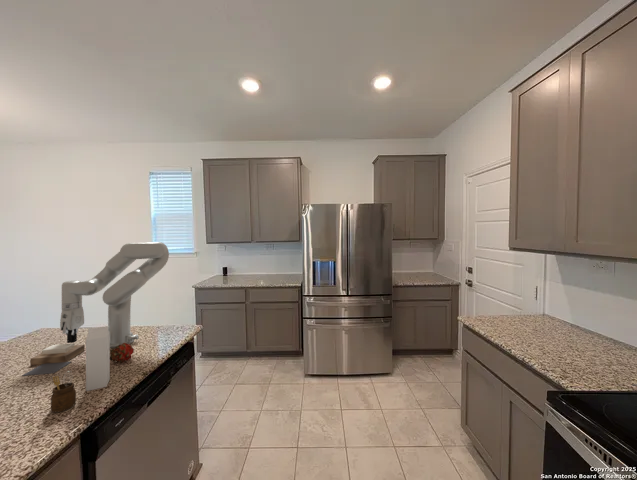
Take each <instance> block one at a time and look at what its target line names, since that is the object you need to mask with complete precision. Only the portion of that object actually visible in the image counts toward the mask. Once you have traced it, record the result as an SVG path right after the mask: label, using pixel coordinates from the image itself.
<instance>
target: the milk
mask: <svg viewBox="0 0 637 480" xmlns="http://www.w3.org/2000/svg"><path fill="white" fill-rule="evenodd" d="M110 349H111V348H110V332H109V331H108V325H105V326H99V327H97V326H96V327H91V328H90V327H89V328H88V329H87V335H86V338H85V391H86V392H88V391H89V392H90V391H93V390H98V389H102V388H107V386H108V385H109V382H110V378H111V377H110V376H111V374H110V373H111V372H110V370H111V369H110V368H111V367H110V364H111V363H110V362H111V360H110V356H111V354H110V353H111V352H110V351H111V350H110Z"/></svg>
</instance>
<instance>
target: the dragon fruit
mask: <svg viewBox="0 0 637 480" xmlns="http://www.w3.org/2000/svg"><path fill="white" fill-rule="evenodd" d="M133 354H134V347H133V346H132V345H130V344H127V343H123V344H122V345H118V346H117V347H115V348H111V350H110V361H112V362H115V363H117V364H123V363H124V362H125V361H129V360H131V359H132V355H133Z"/></svg>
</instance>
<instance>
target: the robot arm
mask: <svg viewBox="0 0 637 480" xmlns="http://www.w3.org/2000/svg"><path fill="white" fill-rule="evenodd" d="M169 255H170V252H169V249H168V247H167V245H166V244H165V243H164V242H160V241H153V242H152V241H151V242H128V243H126V244H123V245H122V246H121V247H120V251H118V252H117V253H116V254H115V255H114V256H112V257H111V258H110V259H109V260H107V262H105V266H104V268H103V269H101V271H99V272H98V273H97V274H96V275H94V277H92V278H91V279H88V280H84V281H82V280H81V281H80V280H68V281H64V282H62V284H61V314H60V319H59V320H60V322H59V323H60V324H59V328H60V331H62V335H63V334H65V335H66V344H75V343H76V342H77V340H78V335H77V334H78V333H79V332H78V331H79V328H81V327H82V326H83V325H84V324H85V313H84V308H83V296H84V297H85V296H86V297H87V296H93V295H95V294H96V293H99V292H101V291H102V290H104V289H105V288H106V287H107V286H108V285H110V283H111V282H113V281H114V280H115V279H116V278H117V277H118V276H120V275H121V274H122V273H123V272H124V271H125V270H126V269H127V268H128V267H129V266H130V265H132V264H133V263H134V262H135V261H137V260H145V259H146V261H145V262H143V264H141V265H140V266H138V267H137V268H135V269H134V270H132V271H130V272H128V273H127V274H125V275H123V276H122V277H121V278H120V279H118V280H117V281H116V282H115V283H113V284H112V285H111V286H110V287H108V288H107V289H105V291H104V292H103V293H102V301H103V303H104V304H105V305H107V306H108V308H107V326H108V331H109V332H110V349H115V348H116V347H117V346H118V345H122V344H123V343H127V344H129V345H130V344H132V343H133V342H135V341H134V340H139V334H133V333H134V332H131V308H132V306H131V303H132V295H134V293H136V292H137V291H138V290H140V289H141V288H142V287H144V286H145V284H147V282H148V281H150V280H151V279H152V278H153V277H154V276H155V275H156V274H158V273H159V272H160V271H161V270H162V269H163V268H165V266H166V264H167V263H168V261H169V258H170V257H169Z"/></svg>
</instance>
